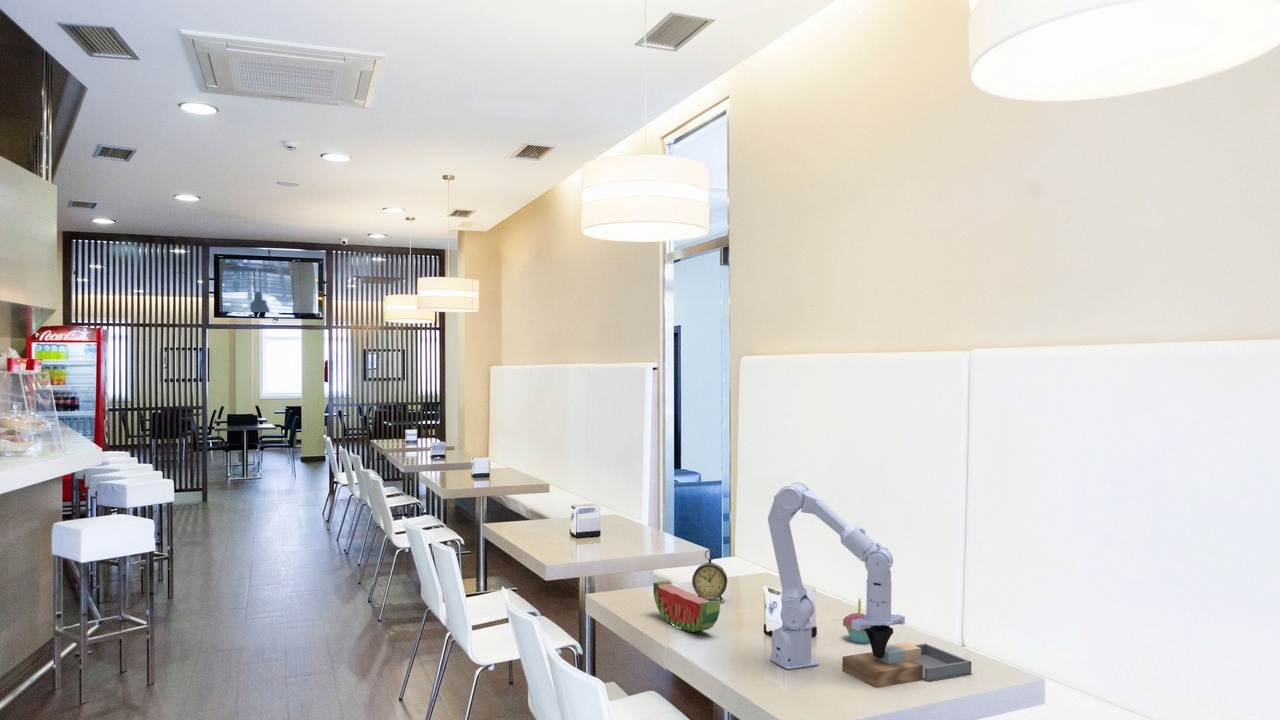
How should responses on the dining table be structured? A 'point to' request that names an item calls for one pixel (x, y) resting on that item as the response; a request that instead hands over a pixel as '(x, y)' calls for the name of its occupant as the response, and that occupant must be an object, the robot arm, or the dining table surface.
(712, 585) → the alarm clock
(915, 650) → the tile sand
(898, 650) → the pale blue block
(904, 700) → the dining table surface
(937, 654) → the tray
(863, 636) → the cupcake
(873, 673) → the bench board
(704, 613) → the fruit slice
